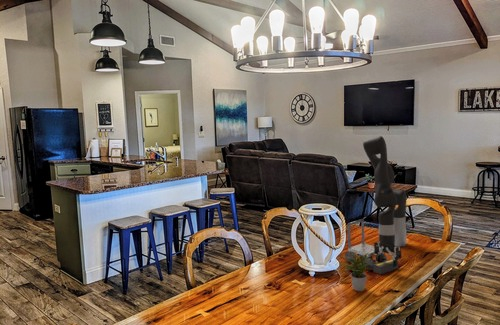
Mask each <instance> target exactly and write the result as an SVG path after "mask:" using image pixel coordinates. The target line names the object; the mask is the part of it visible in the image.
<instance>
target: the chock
mask: <svg viewBox="0 0 500 325" xmlns="http://www.w3.org/2000/svg"><path fill="white" fill-rule="evenodd" d="M398 269H399V264H398V265H397V267H393V258H390V259H387V260H386V261H382V262H379V263H378V262H376V263H375V264H373V268H372V271H373V273H376V274H378V275H383V274H385V273H389V272H392V271H395V270H398Z"/></svg>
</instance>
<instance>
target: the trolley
mask: <svg viewBox="0 0 500 325" xmlns="http://www.w3.org/2000/svg"><path fill="white" fill-rule="evenodd" d="M358 223H360V224H361V243H359V244H356V245H353V246H352V241H351V239H352V237H351V236H352V233H351V232H352V231H351V225H355V224H358ZM347 248H348V250H347V251H346V252H345V254H344V256H345V257H344V259H345V261H347V262H348V263H349V264H352V263H351V262H352V261H353V262H354V263H355V261H354V259H353V254H352V252H353V253H354V255H355V257H356V255H357V256H359V255H360V259H361V258H362V256H363V255H365V254H366V253H368V254H367V256H368V257H367V256H366V257H365V259H366V258H367V259H366V261H365V259H364V261H365V263H366V262H368V263H367V264H366V266H365V267H367V268H366V269H367V270H373V264H376V263H379V261H378V255H377V254H375V253H374V245H370V244H367V243H365V219H364V218H361V219H358V220H354V221H351V222H348V223H347ZM380 249H381V248H380V247H379V250H380ZM382 255H383V261H386V260H388V256H387V255H386V253H383V254H382ZM373 256H375V259H374V258H373ZM346 257H348V258H350V259H351V260H352V261H351V260H350V259H348V258H347V259H346ZM356 258H357V257H356ZM368 259H369V260H368ZM367 260H368V261H367ZM375 262H376V263H375ZM363 263H364V262H363ZM365 263H364V265H365Z"/></svg>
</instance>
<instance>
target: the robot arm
mask: <svg viewBox="0 0 500 325" xmlns="http://www.w3.org/2000/svg"><path fill="white" fill-rule="evenodd" d="M362 143H363V144H362V146H363V150H364V152H365V154H366V156H367V158H368V160H369V161H370V163H371V165H372V167H373V170H374V173H373V174H374V176H373V178H374V183H375V184H374V185H375V193H374V200H373V202H374V205H375V206H376V207H377V208H387V209H386V210H383V211H380V212H379V213H378V241H376V242H373V246H374V253H375V255H376V254H377V255H378V261H379V262H382V261H383V255H382V254H383V253H384V254H389V256H391V259H393V267H397V265H398V266H399V260H401V259H402V247H405V246H406V245H407V227H406V219H407V218H406V216H407V215H406V214H407V192H406V191H405V190H404V189H398V188H397V189H395V188H392V186H391V185H392V184H393V182H394V180H395V171H394V170H393V167H392V165H391V164H390V163H388V149H387V143H386V140H385V139H384V137H383V136H382V135H380V136H376V137H372V138H368V139H365V140H364V141H363V142H362ZM377 155H380V157H379V156H377ZM396 207H397V208H396ZM379 248H381V249H380V250H379Z"/></svg>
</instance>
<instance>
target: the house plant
mask: <svg viewBox="0 0 500 325" xmlns="http://www.w3.org/2000/svg"><path fill="white" fill-rule="evenodd" d="M352 254H353V259H354V261H355V262H353V261H352V260H351V259H350V258H348V257H346V258H345V255H342V257H343V258H345V260H346V259H347V258H348V259H350V260H351V261H352V262H351V263H350V264H347V263H340V264H341V265H343V266H344V267H345V268H344V271H343V272H345V271H348V270H350V271H351V272H352V273H350V279H351V285H352V289H353V290H354V291H357V292H362V291H365V290H366V283H367V274H366V273H364V272H366V271H367V270H368V269H367V267H365V266H366V264H367V263H368V262H366V263H365V261H366V259H367V258H366V259H365V257H366V256H367V254H368V253H366V254H365V255H363V256H362V258H360V255H356V257H355V255H354V254H355V253H353V252H352ZM367 257H368V256H367ZM364 259H365V261H364ZM368 260H369V259H368ZM368 260H367V261H368ZM363 262H364V263H365V265H364V263H363Z"/></svg>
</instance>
